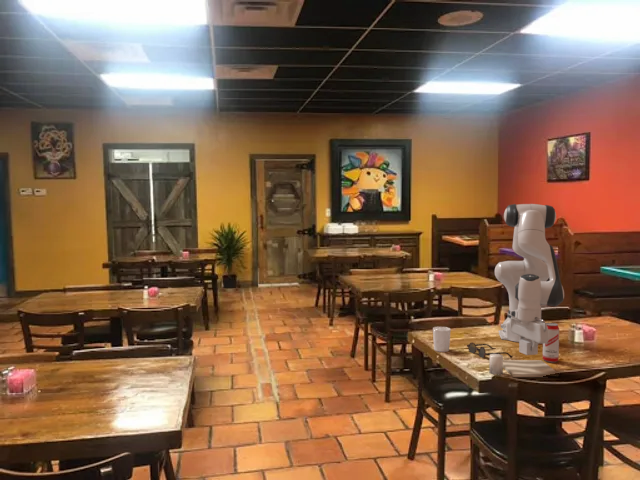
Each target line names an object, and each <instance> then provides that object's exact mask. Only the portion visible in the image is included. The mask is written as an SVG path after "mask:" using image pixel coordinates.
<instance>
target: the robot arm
mask: <svg viewBox="0 0 640 480" xmlns="http://www.w3.org/2000/svg"><path fill="white" fill-rule="evenodd" d="M503 220H504V223H505V224H506V225H507V226H509V227H511V228H514V229H513V236H512V238H513V239H512V247H511V248H512V250H513V252H514V254H517V255H518V256H519V257H522V258H523V260H505V261H499V262H498V263H497V264H496V265H495V268H494V276H495V278H496V280H497V281H498V282H500V283H501V284H502V285H503V286H504V287H505V289H506V291H507V293H508V300H509V301H508V304H509V309H508V312H507V317H506V319H505V320H504V321H503V323H500V329H499V330H498V332H499V333H498V332H497V333H498V335H499V337H500V339H501V340H505V341H512V342H515V343H516V342H517V343H519V340H522V339H530V340H532V343H533V345H532V346H531V349H530V350H531V351H533V352H536V351H537V346H538V347H539V345H540V344H542V345H543V344H544V343H547V342H548V340H549V337H548V327H547V324H546V323H547V322H546V320H544V319H542V306H541V305H544V306H545V305H546V306H551V307H557V306H559V305H561V304H562V303H563V302H564V299H565V290H564V287H563V285H562V280H561V276H560V273H559V266H558V261H557V257H556V253H555V249H554V247H553V246H552V245H551V244H549V243H548V241H547V239H546V229H550V228H552V227H553V226H554V225H555V222H556V220H557V213H556V209H555V207H553V206H552V205H548V204H545V205H543V204H539V203H538V204H537V203H520V204H516V203H513V204H508V205H507V206H506V208H505V210H504V213H503Z"/></svg>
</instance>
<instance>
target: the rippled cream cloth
mask: <svg viewBox="0 0 640 480" xmlns="http://www.w3.org/2000/svg"><path fill="white" fill-rule="evenodd" d="M503 369H504V370H505V371H506V372H507V373H508V374H509V375H510V376H511V377H512V378H544V377H543V376H546V375H550V374H555V373H559V372H557V370H555V369H554V368H552V367H551V366H550V365H549V364H547V362H545V361H544V360H543V359H542V360H541V359H539V360H538V359H537V360H536V359H533V360H532V359H531V360H530V359H529V360H526V359H503Z"/></svg>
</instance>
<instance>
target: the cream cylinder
mask: <svg viewBox="0 0 640 480" xmlns="http://www.w3.org/2000/svg"><path fill="white" fill-rule="evenodd" d="M503 360H504V356H503V354H490V355H489V371H488V372H489V374H491V375H495V374H499V375H498V376H501V375H503V372H504V370H503V369H504V368H503Z"/></svg>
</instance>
